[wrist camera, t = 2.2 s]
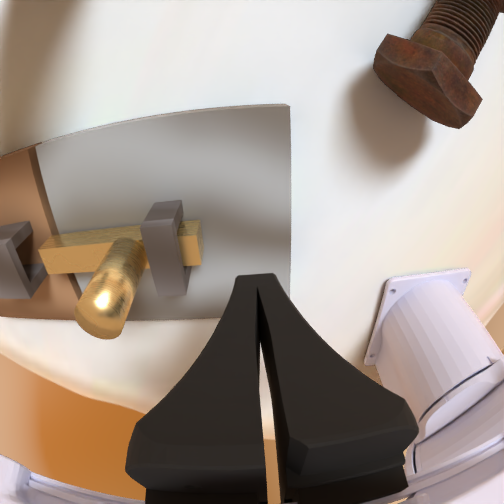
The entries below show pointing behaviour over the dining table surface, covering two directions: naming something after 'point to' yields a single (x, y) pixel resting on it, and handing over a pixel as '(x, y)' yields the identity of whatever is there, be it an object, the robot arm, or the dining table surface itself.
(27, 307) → the latch plate
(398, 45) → the bolt
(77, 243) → the slide bolt
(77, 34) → the dining table surface
